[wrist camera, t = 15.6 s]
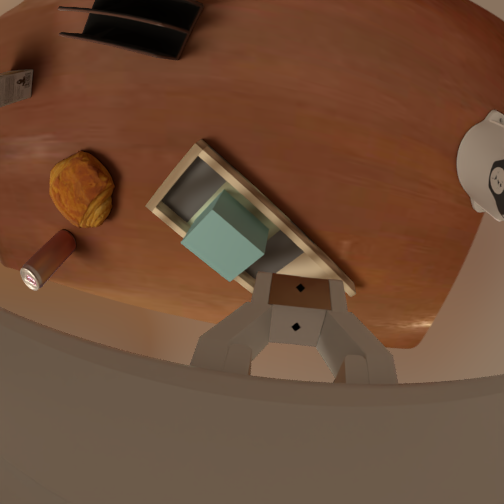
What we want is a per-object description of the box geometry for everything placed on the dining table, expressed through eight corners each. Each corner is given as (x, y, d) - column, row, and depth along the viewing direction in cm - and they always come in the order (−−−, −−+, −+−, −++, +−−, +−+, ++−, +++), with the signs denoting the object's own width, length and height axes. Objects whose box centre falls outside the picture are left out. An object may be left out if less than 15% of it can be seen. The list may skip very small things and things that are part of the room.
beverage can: (75, 255, 61) (39, 296, 49) (57, 242, 60) (20, 281, 48) (78, 236, 58) (39, 278, 46) (59, 224, 57) (18, 262, 44)
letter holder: (104, -13, 29) (50, -25, 17) (205, 5, 31) (168, -19, 20) (84, 36, 34) (27, 38, 22) (179, 61, 37) (133, 60, 25)
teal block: (269, 229, 50) (264, 254, 44) (237, 255, 54) (229, 282, 48) (224, 189, 47) (212, 209, 41) (194, 219, 51) (180, 242, 45)
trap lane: (353, 282, 55) (356, 293, 52) (298, 318, 61) (297, 328, 59) (201, 138, 43) (195, 143, 41) (152, 198, 50) (145, 206, 48)
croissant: (97, 224, 58) (80, 248, 52) (50, 175, 50) (28, 195, 44) (136, 189, 52) (119, 214, 46) (83, 131, 44) (58, 149, 38)
